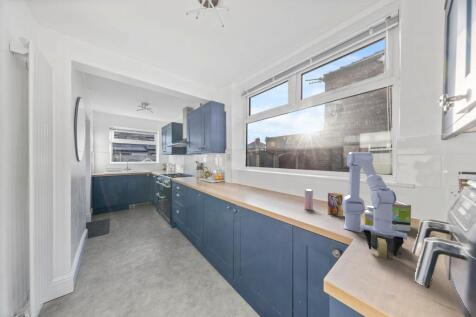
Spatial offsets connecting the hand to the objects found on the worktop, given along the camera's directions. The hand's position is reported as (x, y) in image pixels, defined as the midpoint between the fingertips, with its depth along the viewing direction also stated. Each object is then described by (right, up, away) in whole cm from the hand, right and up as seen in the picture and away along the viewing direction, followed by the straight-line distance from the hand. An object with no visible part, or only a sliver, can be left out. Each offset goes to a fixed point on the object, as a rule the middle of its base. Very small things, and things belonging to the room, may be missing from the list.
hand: (381, 251), depth 69 cm
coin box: (+8, -2, +7) cm, 11 cm away
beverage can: (-5, -1, +59) cm, 60 cm away
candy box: (+9, -1, +48) cm, 48 cm away
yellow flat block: (0, -2, 0) cm, 2 cm away
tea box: (+32, -2, +30) cm, 44 cm away
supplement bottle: (+16, -2, +24) cm, 29 cm away
